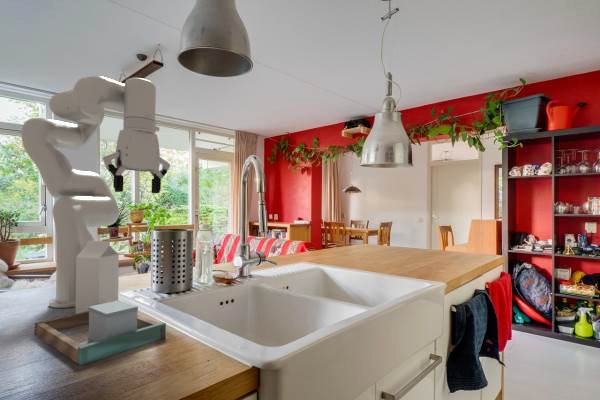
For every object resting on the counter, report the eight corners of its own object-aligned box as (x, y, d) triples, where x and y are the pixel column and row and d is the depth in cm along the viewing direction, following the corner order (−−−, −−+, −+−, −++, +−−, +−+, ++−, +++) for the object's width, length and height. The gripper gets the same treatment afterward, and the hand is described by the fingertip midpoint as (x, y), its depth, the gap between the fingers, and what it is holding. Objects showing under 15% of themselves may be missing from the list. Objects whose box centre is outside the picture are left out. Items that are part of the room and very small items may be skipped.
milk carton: (98, 316, 88) (99, 242, 89) (75, 314, 90) (76, 242, 90) (118, 308, 95) (119, 240, 96) (96, 307, 96) (97, 239, 97)
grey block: (88, 341, 71) (88, 306, 71) (118, 332, 76) (119, 300, 76) (106, 351, 66) (106, 313, 66) (137, 341, 71) (137, 306, 71)
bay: (34, 334, 76) (34, 320, 76) (112, 315, 89) (112, 303, 89) (80, 365, 60) (80, 348, 60) (165, 337, 73) (165, 323, 74)
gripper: (162, 134, 99) (161, 193, 99) (97, 123, 86) (96, 191, 85) (177, 131, 94) (175, 193, 94) (110, 118, 81) (109, 191, 81)
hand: (137, 192), depth 90 cm, fingers open, 9 cm apart
